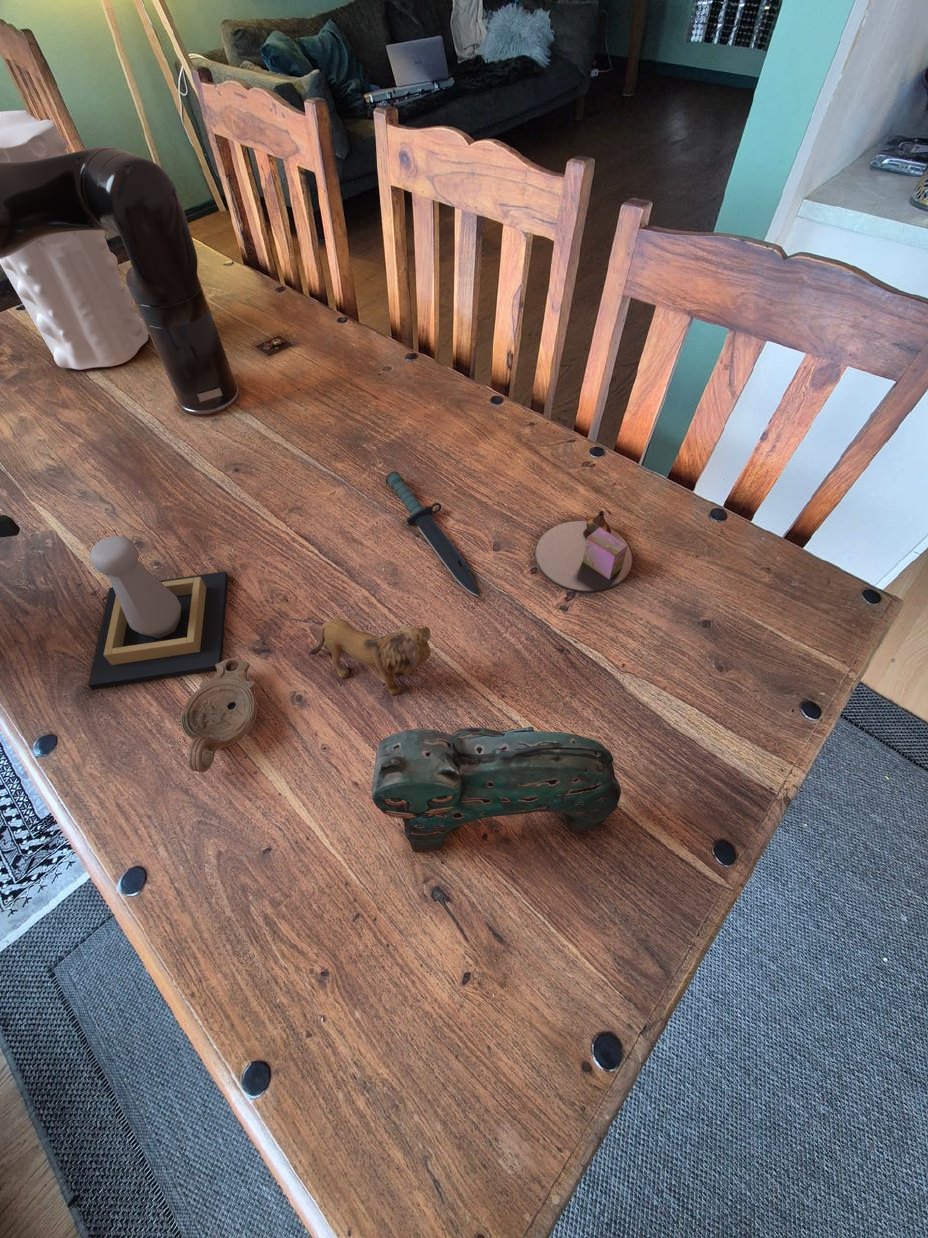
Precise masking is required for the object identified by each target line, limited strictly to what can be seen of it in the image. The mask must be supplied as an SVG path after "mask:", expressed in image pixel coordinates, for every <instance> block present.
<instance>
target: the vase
mask: <svg viewBox="0 0 928 1238" xmlns="http://www.w3.org/2000/svg"><path fill="white" fill-rule="evenodd" d="M67 149H68V142H67V140H66V139H65V138H64V136H62V135H61V133H60V131H59V129H58V127H57V125H56V123H55V121H54V120H51V119H42V120H39V119H37V118H36V117H34V116H33V115H31V114H30V113H29V111H28V110H24V109H23V110H21V109H20V110H18V109H17V110H5V111H3V110H2V111H0V162H28V161H35V160H41V159H46V158H51V157H55V156H60V155H65V154H69V152H68V150H67ZM105 235H106V231H104V230H85V231H70V232H62V233H55V234H51V235H47V236H45V237H42V238H40V239H38V240H36V241H34V242H32V243H31V244H29V245H27V246H26V247H24V248H22V249H21V250H19V251H17V252H15V253H13V254H12V255H10V256H7V257H5V258H3V259H0V266H1V268H2V270H3V271H4V273H5V275H6V277H7V279H8V280H9V282H10V284H11V285H12V287H13V289H14V291H15V292H16V294H17V296H18V297H19V299H20V301H21V303H22V304H23V307H24V308H25V309H26V312H27V313H28V314H29V317H30V318H31V320H32V322H33V323H34V325H35V327H36V328H37V331H38V332H39V334H40V335H41V337H42V338H43V341H44V342H45V344H46V346H47V348H48V350H49V351H50V352H51V354H52V356H53V360H54V362H55V364H56V365H57V366H58V367H59V368H63V369H72V370H78V371H79V370H81V371H83V370H87V369H93V368H108V367H115V366H118V365H122V364H124V363H127V362H128V361H130V360H131V359H133V357H135V355H136V354H137V353H138V351H139V350H140V348H141V347H142V346H143V345H145V344H146V343H147V342H148V341H149V332H148V330H147V328H146V326H145V323H144V321H143V319H142V317H141V316H137V315H136V312H135V310H134V299H133V297H132V294H131V292H130V290H129V288H128V285H127V284H126V283H125V284H124V282H123V281H122V278H121V276H120V273H119V271H118V263H119V261H118V257H117V256H116V255H115V254H114V253H113V252H111V250H110V247H109V245H108V242H107V240H106V237H105Z"/></svg>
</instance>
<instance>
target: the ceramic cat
mask: <svg viewBox="0 0 928 1238" xmlns="http://www.w3.org/2000/svg"><path fill="white" fill-rule="evenodd" d="M470 735H474V736H470ZM465 736H466V737H465ZM614 761H615V760H614V757H613V753H611V751H610V750H609V749H608V748H606V747H605V746H604V745H603V744H601V743H600V742H598V741H596V740H594V739H592V738H590V737H585V736H582V735H578V734H573V733H568V732H561V731H539V730H535V729H534V727H533V726H528V727H527V726H525V727H519V728H513V729H508V730H503V731H497V730H495V729H491V728H483V727H471V726H470V727H465V728H461V729H457V730H455V731H453V732H452V733H451V734H449V733H447V732H444V731H440V730H435V729H429V728H428V729H427V728H413V729H409V730H403V731H399V732H396V733H393V734H391V735H388V736H386V737H384V738H383V739H382V740H381V741H379V744H378V746H377V750H376V755H375V761H374V767H373V777H372V784H371V798H372V802H373V803H374V805H375V806H376V808H378V809H379V810H380V811H381V813H383V814H384V815H386V816H388V817H391V818H396V819H402V821H403V824H404V825H403V827H404V835H405V837H406V838H407V839H408V841H409V844H410V846H411V847H410V848H411V850H412V852H423V851H434V850H441V849H442V848H443V847H444V846H445V843H446V840H447V838H448V837H449V836H450V835H451V834H452V833H455V832H456V831H457V830H458V829H460V828H461V827H462V826H463V825H468V824H470V823H472V822H475V821H478V820H481V819H488V818H497V817H505V816H507V817H508V816H515V815H523V814H531V813H532V814H533V813H536V812H537V813H538V812H540V813H560V814H563V815H564V818H565V821H566V825H567V826H568V828H569V829H570V830H571V831H572V832H588V831H592V830H596V829H598V828H599V827H600V826H602V824H603V823H604V821H605V820H606V819H607V818H608V817H610V815H612V814H613V813H614V812H615V811H616V810H617V808H618V806H619V802H620V799H621V794H622V787H621V784H620V782H619V781H618V779H617V776H616V775H615V768H614V764H613V762H614Z"/></svg>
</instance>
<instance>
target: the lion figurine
mask: <svg viewBox="0 0 928 1238" xmlns="http://www.w3.org/2000/svg"><path fill="white" fill-rule="evenodd" d="M431 636H432V633H431V629H430V628H429V626H422V627H421V628H419V627H418V626H416V625H411V624H408V623H401V624H400V628H399V629H397V630H396V631H394V632H387V633H385V635H383V636H381V637H379V636H376V635H374V634H371V633H368V632H365V631H360V630H358V629H356V628H354V627H353V626H352V624H350V623H349V622H348V621H346V620H345V619H342V618H334V619H332V620H331V621H326V622H324V623H323V624H322V625H321V628H320V637H319V642H318V645H316V647H314V648H312V649H311V650H310V651H308V655H313V656H314V655H315V656H316V655H317V654H319V653H320V651H322V648H323V647H324V644H325V645H326V647H327V649H328V650H329V652H330V654H331V656H332V658H331V660H332V663H333V665H334V668H335V670H336V672H337V675H338V677H339V678H341V679H347V677H349V675H350V671H349V669H348V668H347V667H345V666H344V665H343V664H342V662H341V657H342V655H343V652H345V653H347V654H348V655H349V656H350V657H352V658H353V659H354V660H355V661H357V663H360V664H361V665H364V666H367V667H370V668H375V669H377V670H378V672H379V674H380V675H381V677H382V679H383V681H384V683H385V687H386V689H387V691H388V693H389V694H390V695H392V696H394V695H397V694H399V692H400V689H401V688H400V687H401V686H399V685H398V684H397V682H396V681H395V678H396V679H398V678H400V677H401V676H404V677H406V676H408V675H412V673H413V671H414V670H416V669H419V667H421V666H423V664H425V663H426V661H428V660H429V658H430V656H431V654H432V650H431V648H430V644H429V642H428V641H429V640H430V639H431Z"/></svg>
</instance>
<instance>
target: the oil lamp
mask: <svg viewBox="0 0 928 1238" xmlns="http://www.w3.org/2000/svg"><path fill="white" fill-rule="evenodd" d="M215 666H216V669H217V671H216V673H215V674H214V676H213V677H212V678H210V679H209V680H202V681H201V682H200V683H199V688H198V689H197V690H196V691H195V692H193V694H191V695H190V696H189V698H188V699H187V700H186V702H185V704H184V705H183V708H182V710H181V713H180V723H181V728H182V731H183V733H184V734H185V735H186V736H187V737H188V738H189V739H190V740H192V742H191V744H190V745H189V747H188V753H187V764H188V769H189V770H190V771H192V772H196V773H205V772H207V771H208V770H209V769H210V768H211V766H212V764H213V762H214V758H215V754H216V752H217V751H218V750H219V749H224V748H228V747H230V746H233V745H235V744H237V743H239V742H240V741H242V740H243V739H244V738H245V737H246V736H247V735H249V733H250V731H251V730H252V729H253V727H254V725H255V721H256V719H257V713H258V703H257V699H256V696H255V691H256V685H255V682H254V681H253V680H249V679H248V671H249V669H250V666H251V663H250V662H247V661H246V660H243V659H242V658H239V657H229V658H227V659H224V660H222V662H220V663H218V664H215Z"/></svg>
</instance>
